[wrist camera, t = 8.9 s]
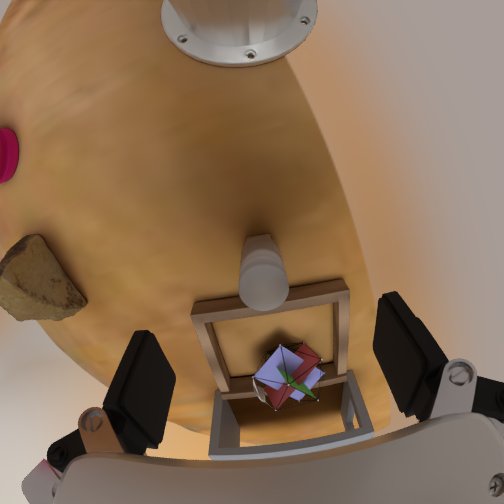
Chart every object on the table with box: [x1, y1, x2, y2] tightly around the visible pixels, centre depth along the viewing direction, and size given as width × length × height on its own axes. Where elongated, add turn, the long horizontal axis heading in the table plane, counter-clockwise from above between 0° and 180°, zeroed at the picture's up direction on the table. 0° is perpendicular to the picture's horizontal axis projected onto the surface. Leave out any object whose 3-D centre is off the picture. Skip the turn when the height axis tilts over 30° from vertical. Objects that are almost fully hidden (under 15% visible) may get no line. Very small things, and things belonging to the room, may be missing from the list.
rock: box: [0, 235, 87, 321], centre depth 21 cm, size 11×9×10 cm
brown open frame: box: [190, 233, 350, 400], centre depth 22 cm, size 18×14×7 cm
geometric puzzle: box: [252, 342, 325, 411], centre depth 25 cm, size 7×7×8 cm
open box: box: [208, 370, 374, 460], centre depth 27 cm, size 10×17×10 cm, turn 100°
